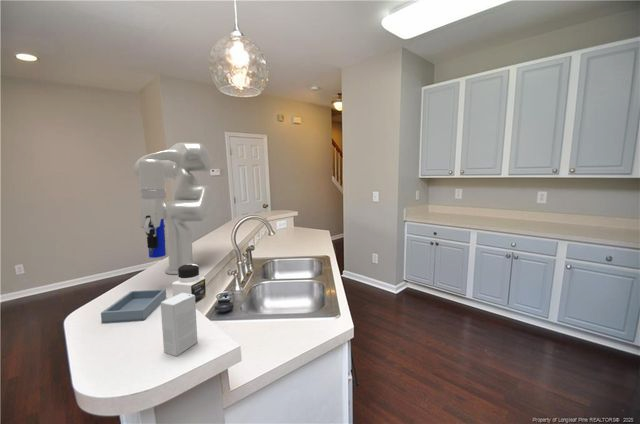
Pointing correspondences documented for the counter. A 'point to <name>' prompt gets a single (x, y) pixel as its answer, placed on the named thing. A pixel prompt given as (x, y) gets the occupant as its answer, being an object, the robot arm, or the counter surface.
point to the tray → (134, 306)
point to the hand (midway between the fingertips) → (156, 245)
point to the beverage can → (159, 243)
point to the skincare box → (179, 323)
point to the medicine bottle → (190, 282)
